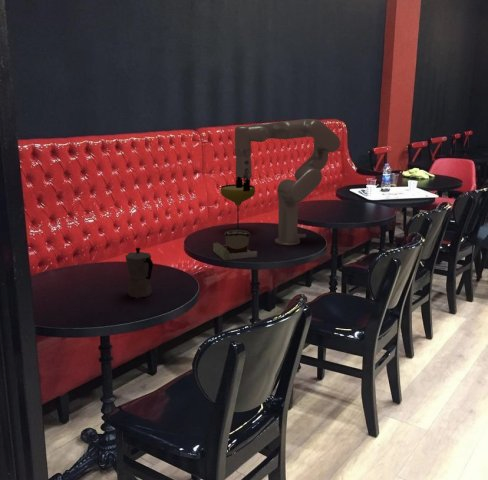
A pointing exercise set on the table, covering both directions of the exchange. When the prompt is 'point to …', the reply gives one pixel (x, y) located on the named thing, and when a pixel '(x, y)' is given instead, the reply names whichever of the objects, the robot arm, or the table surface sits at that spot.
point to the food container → (237, 241)
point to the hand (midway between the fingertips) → (242, 189)
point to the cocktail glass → (237, 196)
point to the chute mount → (225, 255)
